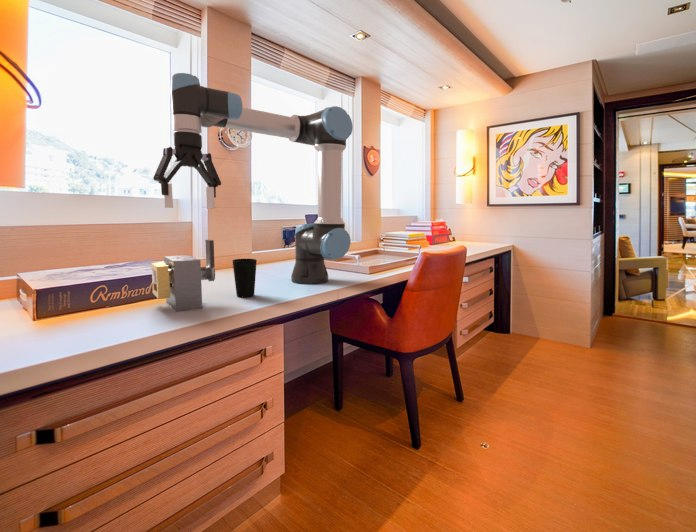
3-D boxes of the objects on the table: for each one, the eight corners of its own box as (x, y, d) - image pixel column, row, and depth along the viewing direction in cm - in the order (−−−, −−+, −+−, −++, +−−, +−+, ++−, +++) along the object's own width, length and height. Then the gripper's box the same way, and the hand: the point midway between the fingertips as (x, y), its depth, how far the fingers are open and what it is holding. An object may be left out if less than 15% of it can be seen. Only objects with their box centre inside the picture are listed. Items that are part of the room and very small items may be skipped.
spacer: (164, 292, 111) (162, 262, 110) (170, 297, 104) (168, 265, 103) (153, 293, 110) (151, 263, 108) (158, 299, 102) (156, 266, 101)
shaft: (210, 279, 117) (209, 239, 115) (215, 282, 113) (214, 240, 111) (152, 284, 108) (150, 241, 106) (155, 287, 103) (153, 242, 102)
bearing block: (190, 299, 118) (188, 255, 117) (202, 308, 107) (200, 259, 105) (166, 301, 114) (163, 256, 112) (176, 311, 103) (173, 261, 101)
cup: (250, 298, 120) (250, 261, 118) (229, 297, 121) (227, 260, 120) (261, 294, 127) (260, 259, 126) (240, 292, 129) (239, 258, 127)
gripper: (215, 141, 119) (218, 208, 122) (136, 126, 99) (141, 207, 102) (231, 139, 115) (233, 208, 118) (151, 122, 95) (156, 207, 98)
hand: (190, 208), depth 110 cm, fingers open, 13 cm apart
